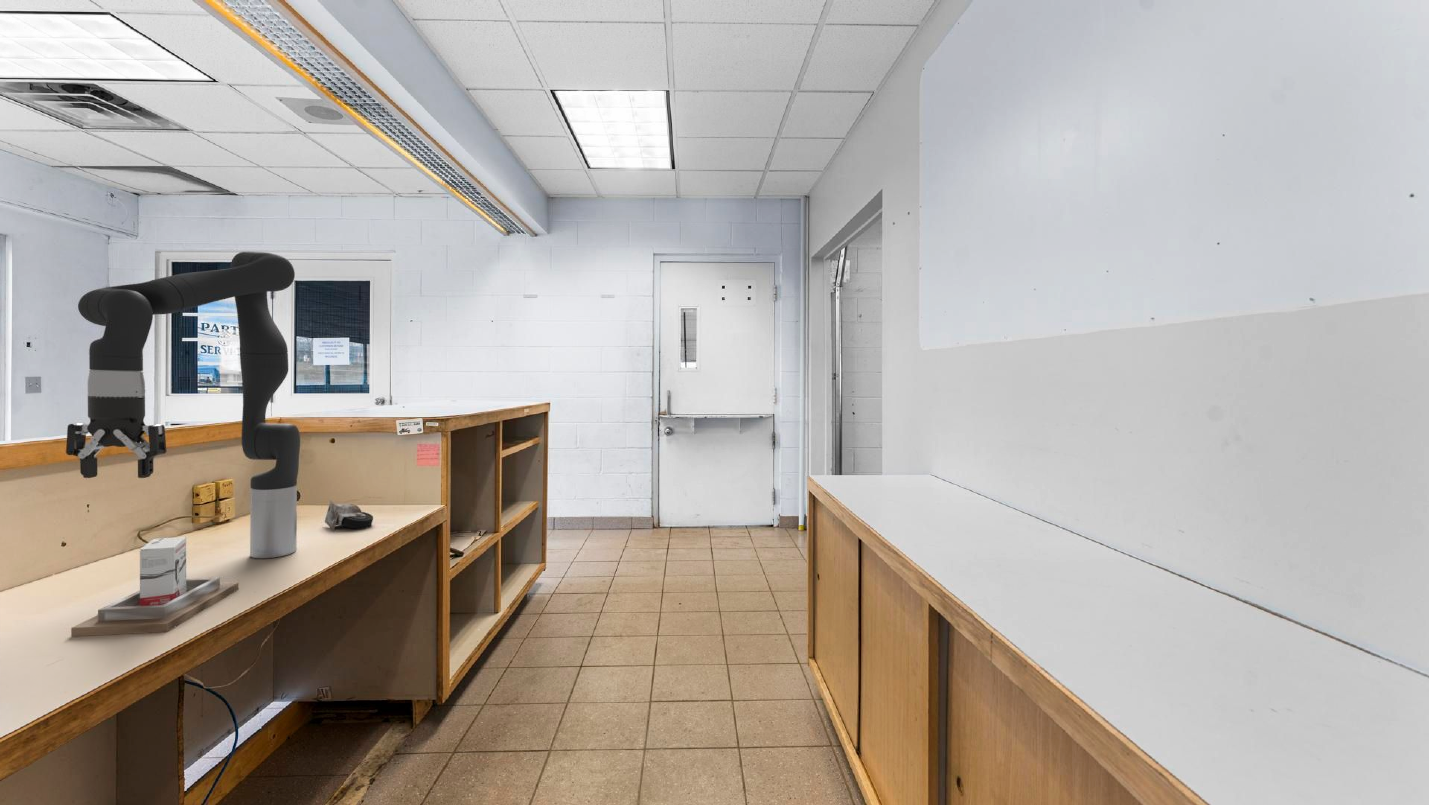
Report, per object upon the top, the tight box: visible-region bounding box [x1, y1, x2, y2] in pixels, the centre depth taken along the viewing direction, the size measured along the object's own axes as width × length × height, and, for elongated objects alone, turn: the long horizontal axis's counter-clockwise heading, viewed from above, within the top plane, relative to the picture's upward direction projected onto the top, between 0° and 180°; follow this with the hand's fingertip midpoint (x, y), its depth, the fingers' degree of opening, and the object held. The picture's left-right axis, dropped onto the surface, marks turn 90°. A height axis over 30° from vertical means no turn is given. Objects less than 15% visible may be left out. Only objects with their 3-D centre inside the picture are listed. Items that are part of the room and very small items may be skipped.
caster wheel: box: [324, 501, 374, 531], centre depth 167 cm, size 7×11×10 cm
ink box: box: [139, 536, 187, 606], centre depth 106 cm, size 9×5×12 cm, turn 32°
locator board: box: [70, 577, 240, 637], centre depth 107 cm, size 20×14×4 cm
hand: (117, 477), depth 107 cm, fingers open, 8 cm apart
